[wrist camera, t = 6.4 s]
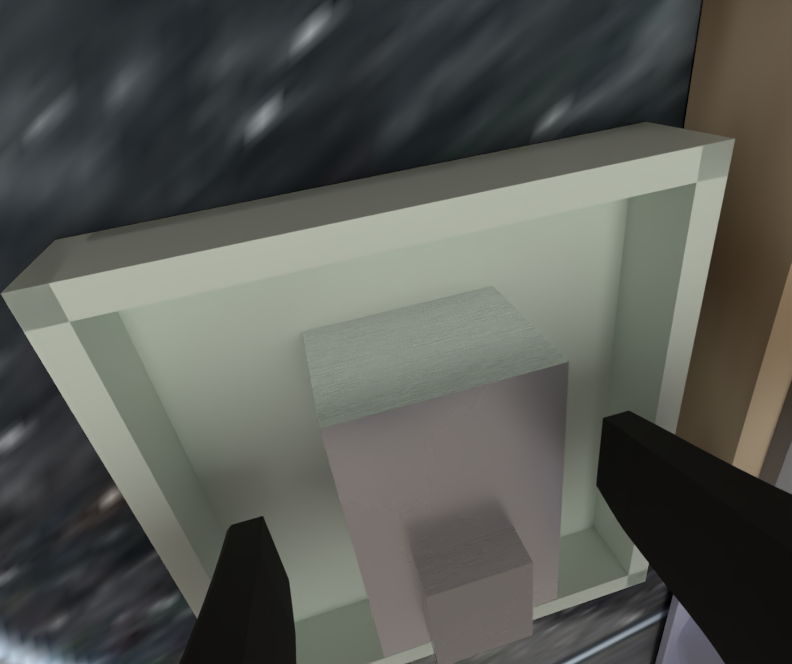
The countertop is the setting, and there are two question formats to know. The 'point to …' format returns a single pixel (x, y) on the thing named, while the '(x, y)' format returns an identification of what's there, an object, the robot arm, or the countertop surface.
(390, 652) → the lever cap
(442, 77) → the countertop surface
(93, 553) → the countertop surface
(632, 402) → the parts tray
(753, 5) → the hand plane
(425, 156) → the countertop surface
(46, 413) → the countertop surface
